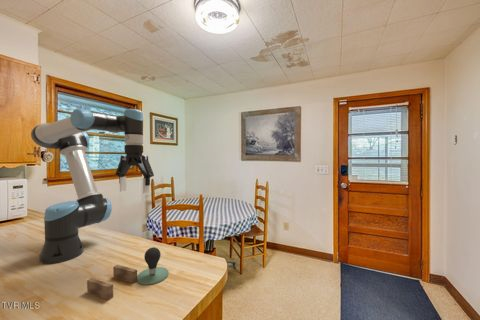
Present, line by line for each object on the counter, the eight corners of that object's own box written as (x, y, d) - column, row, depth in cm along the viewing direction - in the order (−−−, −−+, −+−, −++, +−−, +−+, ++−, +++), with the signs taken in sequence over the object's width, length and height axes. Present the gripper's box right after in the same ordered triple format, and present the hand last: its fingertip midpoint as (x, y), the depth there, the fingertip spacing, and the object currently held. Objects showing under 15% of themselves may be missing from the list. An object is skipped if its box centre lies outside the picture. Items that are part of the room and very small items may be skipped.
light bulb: (147, 270, 83) (147, 245, 83) (162, 270, 83) (162, 244, 83) (142, 279, 77) (141, 251, 77) (158, 278, 78) (158, 251, 78)
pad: (129, 280, 77) (129, 279, 77) (152, 266, 87) (152, 264, 87) (153, 287, 73) (153, 286, 73) (174, 271, 83) (174, 270, 83)
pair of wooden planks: (87, 292, 71) (87, 280, 71) (117, 275, 81) (117, 264, 81) (108, 299, 67) (108, 287, 67) (137, 280, 77) (137, 269, 77)
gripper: (106, 144, 97) (106, 191, 97) (149, 143, 88) (149, 195, 88) (121, 145, 104) (121, 189, 104) (162, 144, 95) (162, 192, 95)
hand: (134, 192), depth 96 cm, fingers open, 13 cm apart
